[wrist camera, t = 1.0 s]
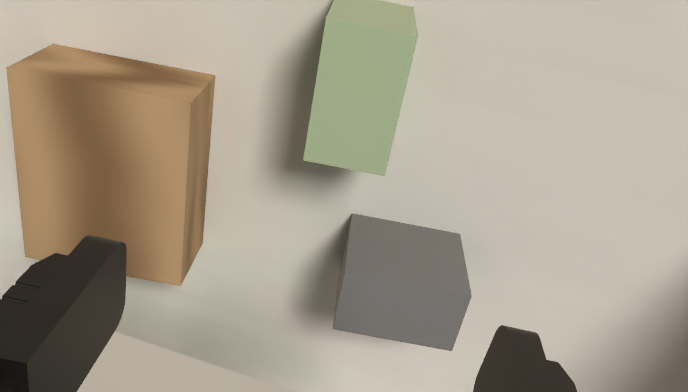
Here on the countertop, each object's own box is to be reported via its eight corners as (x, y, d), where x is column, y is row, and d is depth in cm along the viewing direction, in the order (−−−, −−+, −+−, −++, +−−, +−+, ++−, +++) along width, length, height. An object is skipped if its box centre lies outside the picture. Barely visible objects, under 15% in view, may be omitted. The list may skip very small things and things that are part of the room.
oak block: (215, 75, 29) (190, 103, 26) (202, 243, 34) (180, 285, 31) (52, 44, 29) (6, 67, 26) (63, 217, 34) (25, 256, 30)
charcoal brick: (459, 233, 33) (471, 295, 28) (443, 283, 34) (451, 351, 30) (352, 213, 33) (345, 272, 28) (341, 264, 34) (332, 329, 29)
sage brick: (337, -9, 27) (325, 17, 22) (413, 6, 27) (418, 35, 22) (317, 114, 30) (302, 160, 25) (385, 127, 30) (384, 176, 25)
